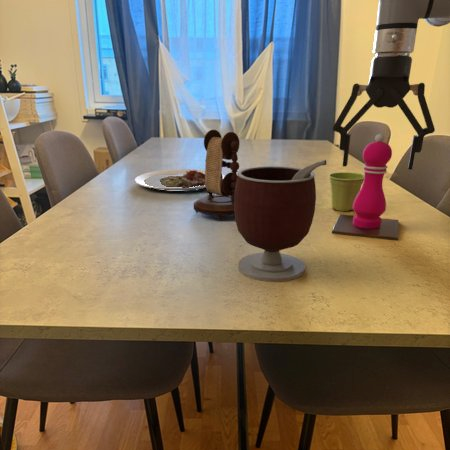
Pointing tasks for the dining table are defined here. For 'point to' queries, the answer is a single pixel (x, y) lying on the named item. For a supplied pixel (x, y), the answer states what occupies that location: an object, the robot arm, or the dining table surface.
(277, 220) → the mate gourd
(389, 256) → the dining table surface
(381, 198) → the pepper mill
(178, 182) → the plated food
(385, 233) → the coaster board
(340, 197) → the plant pot
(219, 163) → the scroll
